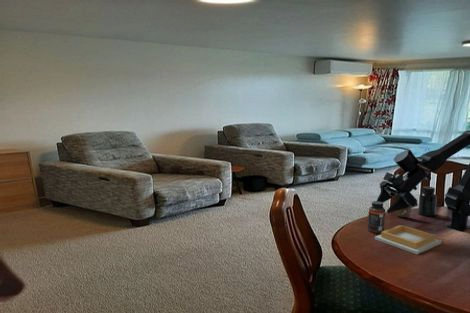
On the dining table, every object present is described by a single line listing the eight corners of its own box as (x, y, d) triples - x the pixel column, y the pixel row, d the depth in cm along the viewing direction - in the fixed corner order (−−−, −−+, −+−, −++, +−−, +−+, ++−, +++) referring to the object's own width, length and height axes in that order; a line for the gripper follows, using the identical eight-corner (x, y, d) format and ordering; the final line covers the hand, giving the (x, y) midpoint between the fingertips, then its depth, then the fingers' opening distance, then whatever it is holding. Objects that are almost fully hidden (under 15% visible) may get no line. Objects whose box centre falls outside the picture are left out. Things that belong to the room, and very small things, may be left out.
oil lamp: (416, 218, 163) (418, 199, 161) (415, 220, 159) (417, 202, 158) (394, 214, 167) (395, 196, 166) (393, 217, 164) (394, 199, 163)
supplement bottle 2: (437, 214, 168) (439, 187, 166) (432, 217, 163) (435, 190, 161) (420, 210, 173) (423, 185, 171) (415, 214, 168) (417, 187, 166)
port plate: (399, 230, 148) (399, 222, 148) (441, 243, 136) (442, 235, 135) (374, 239, 139) (375, 231, 139) (417, 254, 126) (418, 245, 126)
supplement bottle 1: (385, 234, 144) (387, 205, 142) (368, 232, 146) (370, 204, 144) (382, 228, 150) (384, 200, 148) (366, 227, 151) (368, 199, 149)
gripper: (386, 161, 153) (357, 188, 154) (412, 170, 135) (380, 201, 136) (402, 179, 156) (374, 206, 156) (431, 191, 137) (399, 222, 138)
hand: (381, 208), depth 147 cm, fingers open, 9 cm apart
